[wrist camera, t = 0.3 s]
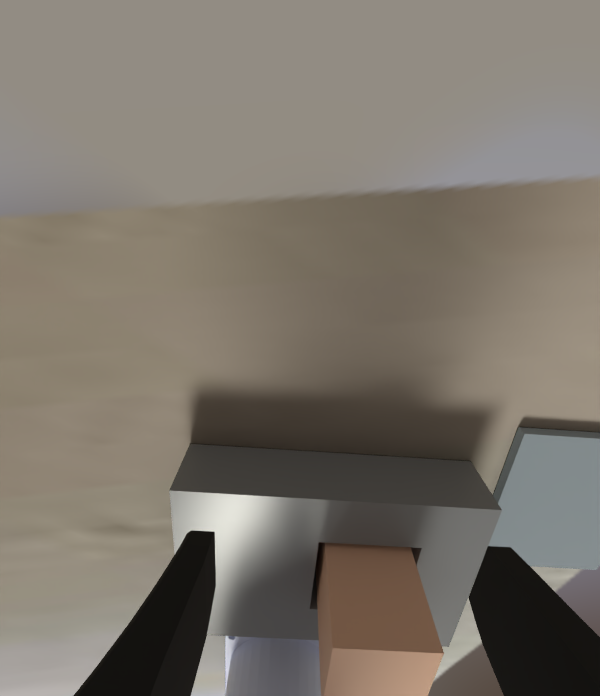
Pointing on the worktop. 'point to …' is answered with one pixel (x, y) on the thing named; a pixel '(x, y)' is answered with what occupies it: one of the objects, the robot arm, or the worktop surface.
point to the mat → (551, 499)
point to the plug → (373, 622)
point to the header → (326, 528)
